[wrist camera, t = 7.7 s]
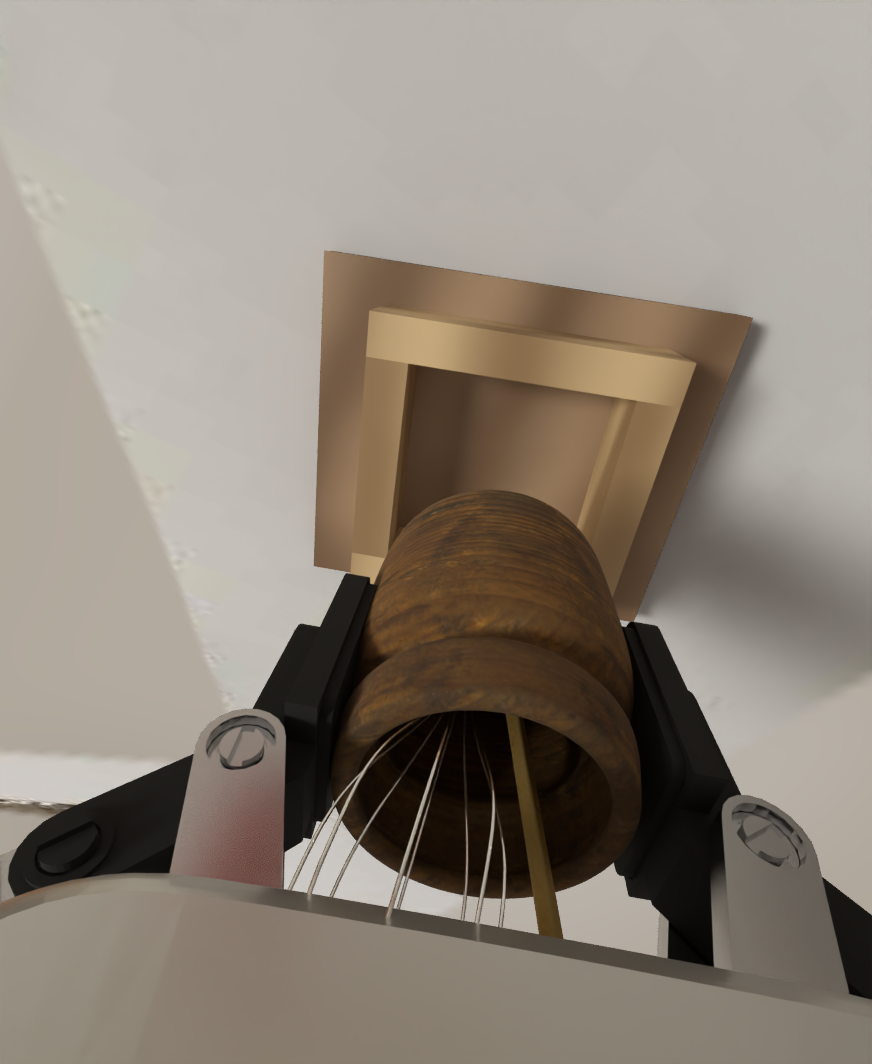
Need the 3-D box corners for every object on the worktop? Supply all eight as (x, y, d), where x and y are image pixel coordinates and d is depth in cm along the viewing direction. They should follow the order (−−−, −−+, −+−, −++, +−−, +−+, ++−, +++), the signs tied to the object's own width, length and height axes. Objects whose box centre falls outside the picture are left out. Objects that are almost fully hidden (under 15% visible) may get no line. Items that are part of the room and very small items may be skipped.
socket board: (739, 314, 20) (793, 327, 17) (628, 607, 27) (648, 663, 23) (333, 250, 21) (297, 249, 17) (321, 553, 27) (293, 600, 24)
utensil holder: (527, 435, 13) (649, 1301, 2) (643, 620, 15) (1016, 1557, 4) (342, 547, 15) (-79, 1279, 4) (466, 696, 17) (401, 1456, 6)
